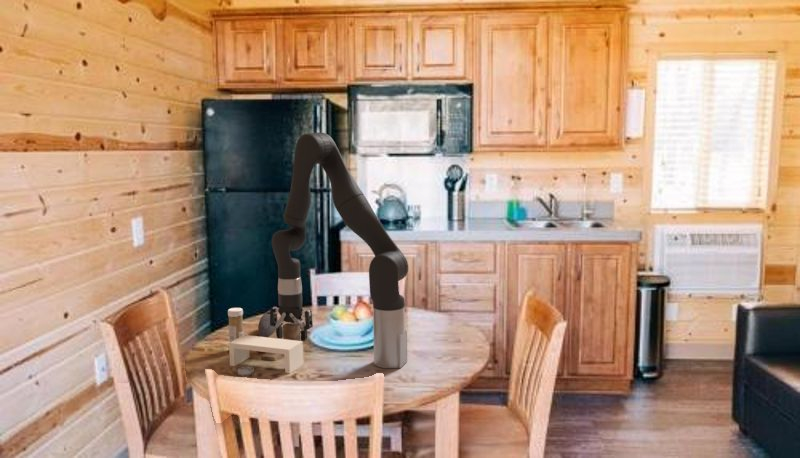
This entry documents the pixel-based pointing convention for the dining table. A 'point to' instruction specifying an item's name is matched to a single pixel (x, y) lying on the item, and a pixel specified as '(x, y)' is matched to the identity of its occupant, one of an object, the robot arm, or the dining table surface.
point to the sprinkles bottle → (235, 323)
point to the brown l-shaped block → (289, 333)
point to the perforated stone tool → (265, 325)
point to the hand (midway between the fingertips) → (291, 340)
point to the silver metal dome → (245, 371)
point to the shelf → (267, 350)
